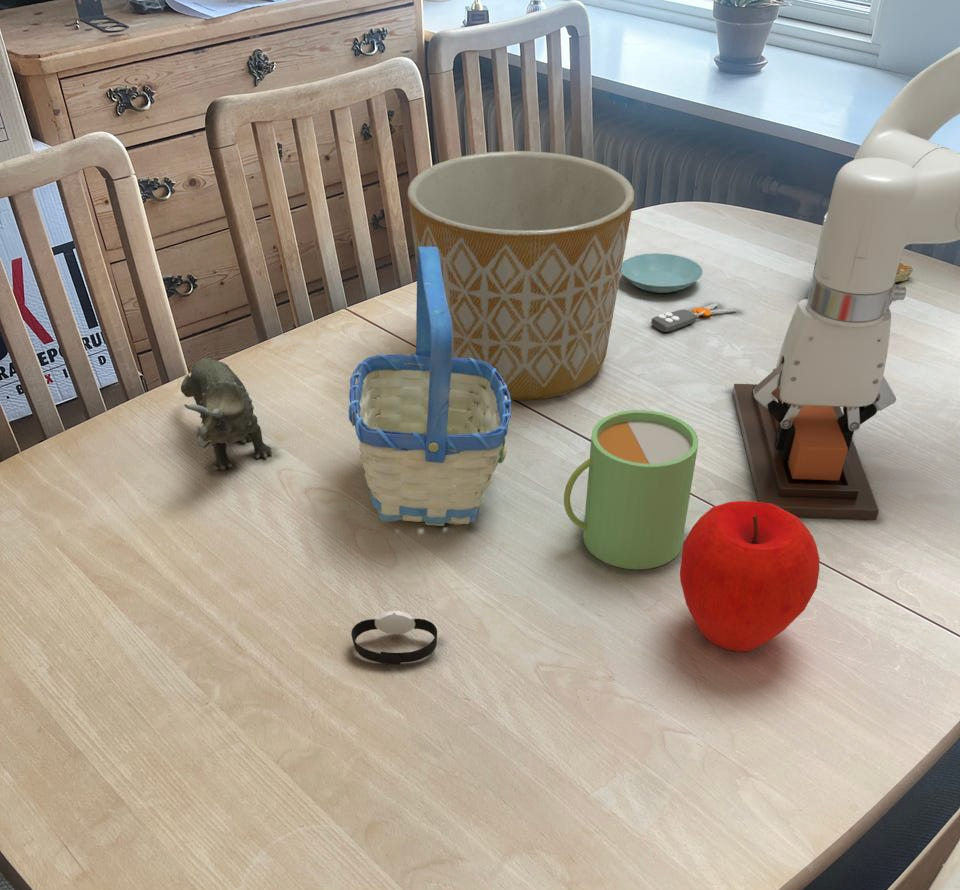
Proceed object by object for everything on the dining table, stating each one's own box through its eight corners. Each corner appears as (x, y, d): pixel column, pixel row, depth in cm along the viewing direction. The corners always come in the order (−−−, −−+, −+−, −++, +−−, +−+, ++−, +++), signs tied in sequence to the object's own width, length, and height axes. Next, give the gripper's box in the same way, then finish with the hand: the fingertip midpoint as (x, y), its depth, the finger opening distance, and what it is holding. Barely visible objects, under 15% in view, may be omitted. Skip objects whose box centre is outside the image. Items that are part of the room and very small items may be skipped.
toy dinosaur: (184, 404, 127) (165, 317, 119) (253, 394, 129) (239, 307, 121) (205, 505, 112) (185, 412, 104) (284, 491, 114) (270, 399, 106)
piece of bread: (822, 266, 157) (825, 254, 156) (854, 253, 161) (857, 242, 159) (884, 290, 151) (887, 278, 150) (915, 277, 154) (918, 265, 153)
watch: (438, 632, 97) (437, 602, 94) (437, 667, 93) (436, 637, 91) (355, 633, 97) (351, 603, 94) (351, 668, 93) (348, 638, 91)
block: (779, 434, 118) (786, 403, 116) (824, 436, 118) (832, 404, 116) (791, 479, 112) (799, 447, 109) (839, 481, 112) (848, 448, 109)
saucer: (602, 283, 153) (603, 267, 151) (654, 260, 159) (656, 245, 157) (664, 309, 146) (666, 293, 145) (716, 284, 152) (719, 269, 151)
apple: (800, 603, 100) (832, 486, 91) (799, 688, 91) (834, 569, 82) (675, 585, 102) (694, 469, 93) (663, 667, 93) (683, 548, 84)
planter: (624, 324, 143) (641, 156, 128) (608, 423, 124) (625, 240, 109) (438, 310, 146) (433, 144, 131) (394, 403, 127) (383, 223, 112)
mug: (663, 503, 112) (678, 404, 104) (695, 563, 104) (713, 461, 96) (549, 515, 110) (554, 415, 102) (572, 577, 103) (580, 474, 95)
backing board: (732, 392, 129) (739, 353, 126) (830, 395, 129) (840, 356, 125) (761, 515, 110) (770, 474, 107) (876, 519, 110) (889, 478, 106)
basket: (517, 542, 107) (523, 326, 91) (356, 548, 106) (335, 332, 90) (500, 434, 122) (503, 233, 106) (359, 439, 121) (341, 237, 105)
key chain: (666, 335, 141) (668, 325, 140) (648, 325, 143) (649, 315, 142) (737, 312, 146) (739, 302, 145) (719, 302, 148) (721, 292, 147)
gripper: (927, 282, 105) (879, 439, 117) (756, 278, 106) (726, 434, 118) (947, 316, 99) (895, 477, 112) (766, 311, 100) (734, 471, 113)
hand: (809, 453), depth 115 cm, fingers closed on block, 5 cm apart
